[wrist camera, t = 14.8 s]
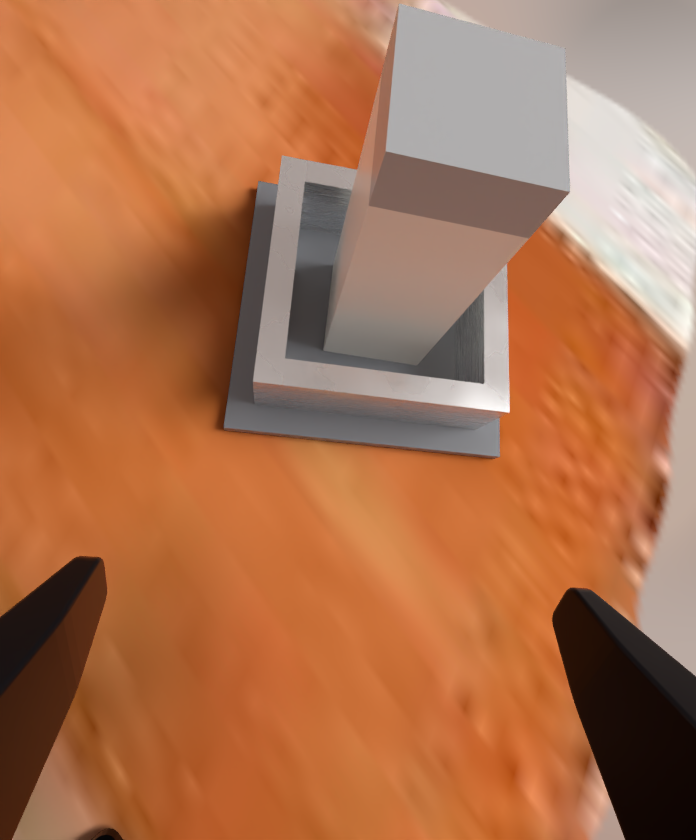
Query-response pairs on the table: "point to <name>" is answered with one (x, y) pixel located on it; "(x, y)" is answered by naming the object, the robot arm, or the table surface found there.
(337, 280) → the gray square block
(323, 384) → the metal collar
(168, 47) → the table surface
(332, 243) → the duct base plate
